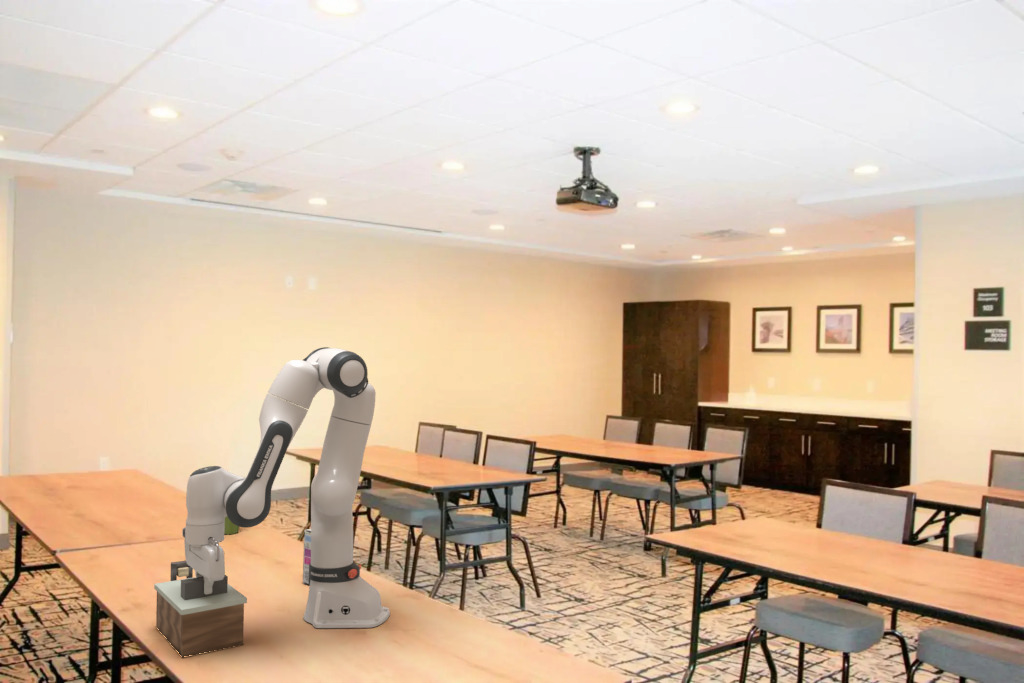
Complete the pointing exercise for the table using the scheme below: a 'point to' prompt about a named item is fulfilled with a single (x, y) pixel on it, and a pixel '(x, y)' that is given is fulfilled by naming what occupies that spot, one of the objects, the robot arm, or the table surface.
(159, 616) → the toolbox
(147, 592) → the table surface
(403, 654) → the table surface
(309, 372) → the robot arm
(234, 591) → the lid
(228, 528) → the plant pot
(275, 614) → the table surface
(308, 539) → the candy bar box
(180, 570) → the light wooden beam
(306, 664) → the table surface
